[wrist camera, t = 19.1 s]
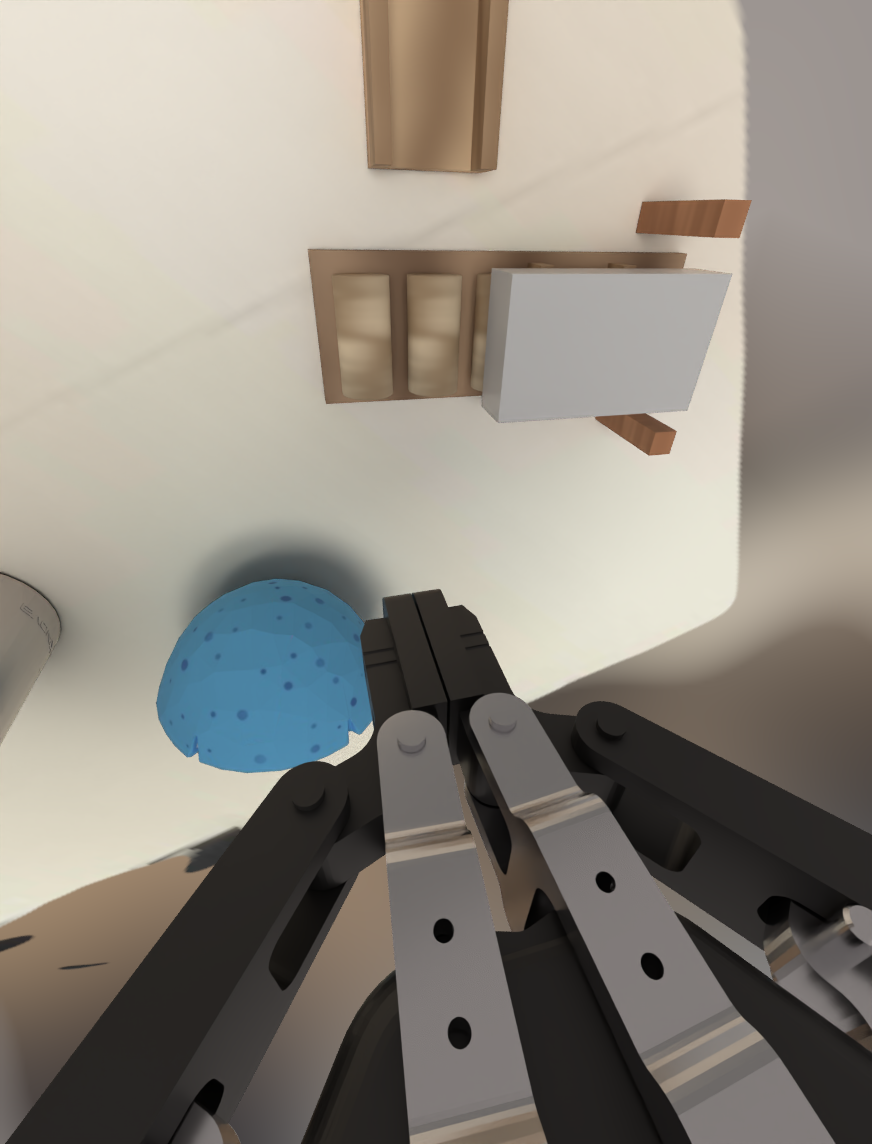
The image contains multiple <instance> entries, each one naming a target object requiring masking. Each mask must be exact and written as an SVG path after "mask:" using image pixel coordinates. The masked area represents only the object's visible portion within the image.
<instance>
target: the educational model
mask: <svg viewBox="0 0 872 1144" xmlns="http://www.w3.org/2000/svg"><path fill="white" fill-rule="evenodd" d="M363 627H364V623H363V621H362V620H361V619H360V618H359V616H358V615H357V614H356V613H355V612H354V610H353V609H352V608H351V607H350V606H349V605H348V604H346V603H345V602H344V601H342V600H341V599H339V598H338V597H337V596H335V595H334V594H332V593H331V592H329V591H328V590H326V589H323V588H320V587H317V586H314V585H311V584H308V583H305V582H302V581H298V580H286V579H271V580H264V581H258V582H252V583H250V584H248V585H245V586H243V587H240V588H238V589H236V590H233V591H231V592H228V593H226V594H224V595H222V596H221V597H219V598H218V599H216V600H215V601H214V602H212V603H211V604H209V605H208V606H207V607H206V608H204V609H203V610H202V611H201V612H200V613H199V614H198V615H196V616H195V617H194V619H193V620H192V621H191V623H190V624H189V625H188V627H187V628H186V629H185V631H184V632H183V633H182V635H181V636H180V637H179V639H178V641H177V643H176V645H175V647H174V650H173V652H172V654H171V656H170V658H169V660H168V662H167V664H166V667H165V671H164V674H163V677H162V680H161V683H160V686H159V691H158V697H157V702H156V705H157V711H158V718H159V721H160V723H161V725H162V727H163V729H164V731H165V733H166V735H167V736H168V737H169V739H170V740H171V741H172V743H173V744H174V745H175V746H176V747H177V748H178V749H179V750H180V751H181V752H182V753H183V754H184V755H185V756H186V757H192V756H193V755H195V754H196V753H197V752H198V754H199V761H200V762H201V763H204V764H207V765H210V766H213V767H216V768H219V769H222V770H229V771H236V772H244V773H254V772H269V771H282V770H286V769H290V768H294V767H296V766H298V765H300V764H303V763H306V762H312V761H317V760H319V759H322V758H324V757H327V756H329V755H331V754H332V753H334V752H336V751H338V750H340V749H342V748H343V747H345V746H347V745H348V743H349V735H348V731H353V732H355V733H357V734H359V735H360V734H362V732H363V731H364V730H365V729H366V728H367V726H368V725H369V724H370V723H371V722H372V715H371V709H370V703H369V698H368V692H367V686H366V680H365V673H364V665H363V657H362V649H361V640H360V635H361V632H362V630H363Z"/></svg>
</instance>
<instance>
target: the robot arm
mask: <svg viewBox="0 0 872 1144" xmlns="http://www.w3.org/2000/svg"><path fill="white" fill-rule="evenodd" d="M383 615H384V618H380V619H373V620H367V621H366V622H365V624H364V627H363V630H362V632H361V635H360V640H361V649H362V657H363V665H364V673H365V680H366V686H367V692H368V698H369V703H370V709H371V715H372V721H373V726H374V731H373V734H372V737H371V739H370V740H369V742H368V743H367V745H366V746H365V747H364V748H363V749H362V750H361V751H360V752H358V753H357V754H356V755H354V756H353V757H351V758H349V759H347V760H346V761H344V762H342V763H340V764H338V765H337V766H333V765H331V764H329V763H326V762H320V761H312V762H306V763H303V764H300V765H298V766H296V767H294V768H292V769H291V770H289V771H288V772H287V773H285V774H284V775H283V776H282V777H281V778H280V780H279V781H278V782H277V783H276V785H275V786H274V787H273V789H272V790H271V791H270V793H269V794H268V795H267V797H266V798H265V799H264V801H263V802H262V803H261V805H260V806H259V807H258V809H257V810H256V811H255V812H254V814H253V815H252V816H251V818H250V819H249V820H248V822H247V823H246V824H245V826H244V827H243V828H242V830H241V831H240V832H239V834H238V835H237V836H236V838H235V839H234V840H233V842H232V843H231V844H230V846H229V847H228V848H227V850H226V851H225V852H224V854H223V855H222V856H221V858H220V859H219V860H218V862H217V863H216V864H215V866H214V867H213V868H212V870H211V871H210V872H209V874H208V875H207V876H206V878H205V879H204V880H203V882H202V883H201V884H200V886H199V887H198V888H197V890H196V891H195V892H194V894H193V895H192V896H191V898H190V899H189V900H188V901H187V903H186V904H185V906H184V907H183V908H182V909H181V911H180V912H179V913H178V915H177V916H176V917H175V919H174V920H173V922H172V923H171V924H170V925H169V927H168V928H167V929H166V931H165V932H164V933H163V935H162V936H161V937H160V939H159V940H158V942H157V943H156V944H155V945H154V947H153V948H152V949H151V951H150V952H149V953H148V955H147V956H146V957H145V959H144V960H143V962H142V963H141V964H140V965H139V967H138V968H137V969H136V971H135V972H134V973H133V975H132V976H131V977H130V979H129V980H128V981H127V983H126V984H125V985H124V987H123V988H122V989H121V990H120V992H119V993H118V995H117V996H116V997H115V998H114V1000H113V1001H112V1002H111V1004H110V1005H109V1007H108V1008H107V1009H106V1011H105V1012H104V1013H103V1014H102V1016H101V1017H100V1019H99V1020H98V1021H97V1022H96V1024H95V1025H94V1027H93V1028H92V1029H91V1031H90V1032H89V1033H88V1034H87V1036H86V1037H85V1038H84V1040H83V1041H82V1042H81V1044H80V1045H79V1046H78V1048H77V1049H76V1050H75V1052H74V1053H73V1054H72V1056H71V1057H70V1058H69V1060H68V1061H67V1062H66V1064H65V1065H64V1066H63V1068H62V1069H61V1070H60V1072H59V1073H58V1074H57V1076H56V1077H55V1078H54V1080H53V1081H52V1082H51V1083H50V1085H49V1086H48V1088H47V1089H46V1090H45V1092H44V1093H43V1094H42V1095H41V1097H40V1098H39V1100H38V1101H37V1102H36V1104H35V1105H34V1106H33V1107H32V1109H31V1110H30V1111H29V1113H28V1114H27V1115H26V1117H25V1118H24V1119H23V1121H22V1122H21V1123H20V1125H19V1126H18V1127H17V1129H16V1130H15V1131H14V1133H13V1134H12V1135H11V1137H10V1138H9V1139H8V1141H7V1142H6V1143H5V1144H241V1143H240V1141H239V1138H238V1136H237V1134H236V1133H235V1131H234V1129H233V1128H232V1127H231V1126H230V1125H229V1122H230V1120H231V1118H232V1116H233V1114H234V1112H235V1110H236V1108H237V1106H238V1104H239V1102H240V1101H241V1099H242V1097H243V1095H244V1093H245V1091H246V1089H247V1087H248V1085H249V1083H250V1081H251V1079H252V1077H253V1075H254V1074H255V1072H256V1070H257V1068H258V1066H259V1064H260V1062H261V1060H262V1058H263V1056H264V1055H265V1053H266V1051H267V1049H268V1047H269V1045H270V1043H271V1041H272V1039H273V1037H274V1035H275V1034H276V1031H277V1030H278V1028H279V1026H280V1024H281V1022H282V1020H283V1018H284V1016H285V1014H286V1012H287V1011H288V1009H289V1007H290V1005H291V1003H292V1001H293V999H294V997H295V995H296V993H297V991H298V989H299V988H300V986H301V984H302V982H303V980H304V978H305V976H306V974H307V972H308V970H309V968H310V966H311V964H312V962H313V961H314V959H315V957H316V955H317V953H318V951H319V949H320V947H321V945H322V943H323V941H324V940H325V938H326V936H327V934H328V932H329V930H330V928H331V926H332V924H333V922H334V921H335V919H336V917H337V915H338V913H339V911H340V909H341V907H342V905H343V903H344V901H345V899H346V898H347V896H348V894H349V892H350V890H351V888H352V886H353V884H354V882H355V880H356V878H357V876H358V873H359V872H360V871H362V870H363V869H364V868H366V867H368V866H369V865H370V864H372V863H373V862H375V861H376V860H378V859H379V858H381V857H382V856H384V855H385V854H386V862H387V873H388V886H389V899H390V910H391V922H392V934H393V946H394V958H395V970H394V971H392V972H391V973H390V974H389V975H388V976H387V977H386V978H385V979H384V980H383V981H381V982H380V983H379V984H378V986H377V987H376V988H375V989H374V990H373V991H372V993H371V994H370V995H369V996H368V997H367V999H366V1000H365V1002H364V1004H363V1005H362V1006H361V1008H360V1009H359V1011H358V1012H357V1014H356V1015H355V1017H354V1019H353V1021H352V1023H351V1025H350V1026H349V1029H348V1030H347V1032H346V1034H345V1037H344V1039H343V1042H342V1044H341V1046H340V1048H339V1051H338V1054H337V1056H336V1058H335V1061H334V1063H333V1066H332V1068H331V1071H330V1073H329V1076H328V1078H327V1081H326V1083H325V1086H324V1088H323V1091H322V1093H321V1095H320V1098H319V1100H318V1103H317V1105H316V1108H315V1110H314V1113H313V1115H312V1118H311V1120H310V1123H309V1125H308V1128H307V1130H306V1133H305V1135H304V1138H303V1140H302V1142H301V1144H872V835H871V834H869V833H867V832H865V831H863V830H861V829H860V828H857V827H856V826H854V825H852V824H850V823H848V822H846V821H844V820H842V819H840V818H838V817H836V816H834V815H832V814H830V813H828V812H826V811H824V810H823V809H820V808H819V807H817V806H814V805H813V804H811V803H809V802H807V801H805V800H803V799H801V798H799V797H797V796H795V795H793V794H791V793H789V792H787V791H785V790H783V789H782V788H779V787H778V786H776V785H774V784H772V783H770V782H768V781H766V780H764V779H762V778H760V777H758V776H756V775H754V774H752V773H750V772H748V771H746V770H744V769H742V768H741V767H738V766H737V765H735V764H733V763H731V762H729V761H727V760H725V759H723V758H721V757H719V756H717V755H715V754H713V753H711V752H709V751H708V750H706V749H704V748H702V747H700V746H698V745H696V744H694V743H692V742H690V741H688V740H686V739H684V738H682V737H680V736H678V735H676V734H674V733H672V732H670V731H669V730H667V729H665V728H662V727H661V726H659V725H657V724H655V723H653V722H651V721H649V720H647V719H645V718H643V717H641V716H639V715H637V714H635V713H634V712H631V711H630V710H627V709H626V708H624V707H622V706H619V705H617V704H614V703H611V702H604V701H603V702H601V701H598V702H592V703H589V704H587V705H585V706H583V707H582V708H581V709H580V710H579V712H578V714H577V716H568V715H557V714H547V713H542V712H539V711H536V710H533V709H531V708H530V707H529V706H528V705H527V704H526V703H525V702H524V701H523V700H521V699H520V698H518V697H516V696H515V695H514V694H513V692H512V690H511V688H510V686H509V684H508V682H507V680H506V678H505V676H504V674H503V672H502V670H501V668H500V665H499V663H498V661H497V659H496V657H495V655H494V653H493V651H492V649H491V647H490V646H489V642H488V640H487V638H486V636H485V634H483V630H482V628H481V626H480V624H479V622H478V620H477V617H476V616H475V615H474V614H472V613H471V612H470V611H469V610H468V609H466V608H465V607H464V606H463V605H460V606H453V607H448V606H447V603H446V601H445V598H444V596H443V594H442V592H441V590H440V589H436V590H429V591H422V592H416V593H412V595H411V594H404V595H397V596H390V597H384V598H383ZM60 631H61V629H60V620H59V618H58V616H57V613H56V611H55V610H54V608H53V607H52V606H51V605H50V603H49V602H48V601H47V600H46V599H45V598H44V597H43V596H41V595H40V594H39V593H38V592H37V591H35V590H34V589H32V588H30V587H29V586H27V585H26V584H24V583H22V582H20V581H17V580H15V579H13V578H11V577H8V576H6V575H2V574H0V745H1V743H2V742H3V740H4V738H5V736H6V734H7V732H8V731H9V729H10V727H11V725H12V723H13V722H14V720H15V718H16V716H17V714H18V712H19V711H20V709H21V707H22V705H23V703H24V701H25V700H26V698H27V696H28V694H29V692H30V690H31V689H32V687H33V685H34V683H35V681H36V680H37V678H38V676H39V674H40V672H41V671H42V669H43V667H44V665H45V663H46V661H47V660H48V658H49V656H50V654H51V652H52V650H53V649H54V647H55V645H56V643H57V641H58V639H59V635H60ZM456 764H460V766H461V768H462V772H463V775H464V778H465V784H464V793H465V797H466V800H467V803H468V805H469V807H470V810H471V813H472V815H473V818H474V820H475V823H476V825H477V828H478V830H479V833H480V836H481V838H482V840H483V843H484V846H485V848H486V850H487V853H488V856H489V858H490V861H491V863H492V866H493V869H494V871H495V874H496V876H497V879H498V882H499V886H500V890H501V897H502V902H503V907H504V911H505V914H506V918H507V921H508V923H509V927H510V929H511V932H501V931H498V932H497V931H495V928H494V924H493V920H492V916H491V911H490V906H489V902H488V898H487V893H486V890H485V885H484V880H483V876H482V871H481V867H480V863H479V858H478V854H477V850H476V846H475V842H474V839H473V836H472V834H471V832H470V831H469V830H468V829H467V827H466V824H465V820H464V816H463V812H462V807H461V803H460V798H459V793H458V789H457V784H456V780H455V775H454V771H453V766H452V765H456ZM652 876H653V877H654V878H656V879H657V880H659V881H661V882H662V883H664V884H665V885H666V886H668V887H669V888H671V889H672V890H674V891H676V892H677V893H678V894H680V895H681V896H683V897H684V898H686V899H687V900H689V901H690V902H692V903H693V904H695V905H696V906H698V907H699V908H701V909H702V910H704V911H705V912H707V913H709V914H710V915H711V916H713V917H714V918H716V919H717V920H719V921H720V922H722V923H723V924H725V925H726V926H728V927H729V928H731V929H732V930H734V931H735V932H737V933H738V934H740V935H741V936H743V937H744V938H746V939H747V940H749V941H750V942H751V943H753V944H755V945H756V946H758V947H759V948H760V949H762V950H764V951H765V955H766V958H767V961H768V964H769V966H770V972H771V976H772V979H773V980H771V979H770V978H769V977H768V976H766V975H765V974H763V973H762V972H761V971H759V970H758V969H757V968H755V967H754V966H752V965H751V964H750V963H748V962H747V961H745V960H744V959H743V958H741V957H740V956H739V955H737V954H736V953H734V952H733V951H732V950H730V949H729V948H728V947H726V946H725V945H723V944H722V943H720V942H719V941H718V940H716V939H715V938H714V937H712V936H711V935H710V934H708V933H707V932H706V931H704V930H703V929H701V928H700V927H699V926H697V925H696V924H694V923H693V922H691V921H690V920H689V919H687V918H685V917H683V916H682V915H680V914H678V913H676V912H675V911H673V910H672V908H671V906H670V905H669V903H668V902H667V900H666V898H665V897H664V896H663V894H662V892H661V891H660V889H659V888H658V886H657V884H656V883H655V881H654V879H653V878H652Z"/></svg>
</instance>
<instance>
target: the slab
mask: <svg viewBox="0 0 872 1144" xmlns="http://www.w3.org/2000/svg"><path fill="white" fill-rule="evenodd" d="M731 277H732V274H730V273H723V272H716V271H708V270H701V269H685V268H492V272H491V285H490V299H489V312H488V325H487V339H486V352H485V365H484V379H483V392H482V405H481V406H482V407H483V408H484V409H485V410H486V411H487V412H488V413H489V414H490V415H491V416H492V417H493V418H494V419H495V420H496V421H497V422H498V423H506V422H521V421H536V420H551V419H567V418H582V417H597V416H612V415H627V414H642V413H658V412H673V411H687V410H688V407H689V404H690V401H691V398H692V395H693V392H694V389H695V386H696V383H697V380H698V377H699V374H700V371H701V368H702V365H703V362H704V359H705V356H706V352H707V349H708V346H709V343H710V340H711V337H712V334H713V331H714V328H715V325H716V322H717V319H718V316H719V313H720V310H721V307H722V304H723V301H724V298H725V295H726V292H727V289H728V286H729V283H730V280H731Z"/></svg>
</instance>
